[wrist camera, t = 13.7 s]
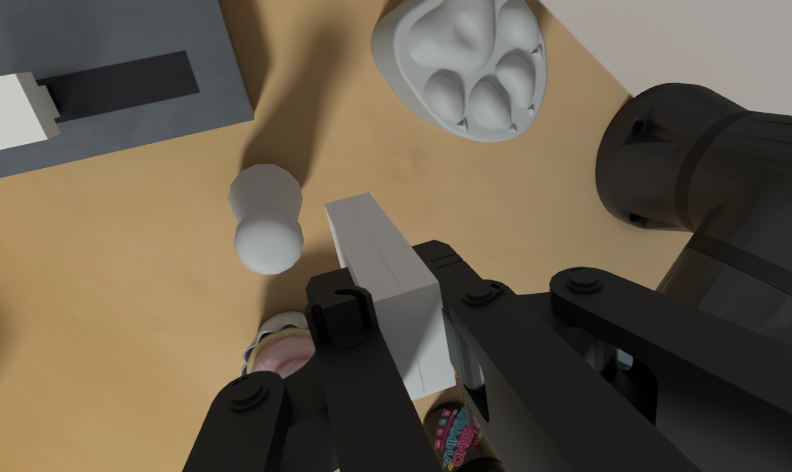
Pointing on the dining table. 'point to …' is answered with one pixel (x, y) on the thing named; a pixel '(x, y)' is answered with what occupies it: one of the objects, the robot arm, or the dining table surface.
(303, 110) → the dining table surface
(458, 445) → the supplement container
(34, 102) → the breaker
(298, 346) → the cupcake
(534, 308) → the robot arm
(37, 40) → the panel
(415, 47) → the lumpy-topped squat cylinder
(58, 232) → the dining table surface
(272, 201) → the salt shaker
